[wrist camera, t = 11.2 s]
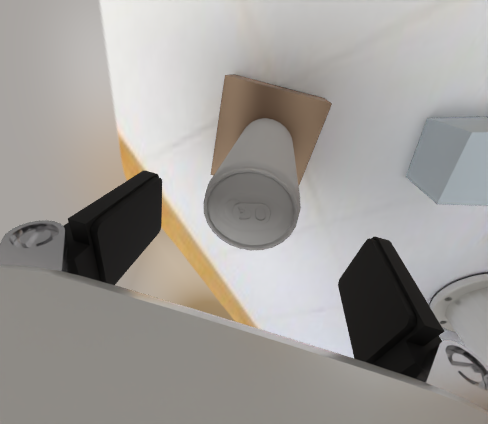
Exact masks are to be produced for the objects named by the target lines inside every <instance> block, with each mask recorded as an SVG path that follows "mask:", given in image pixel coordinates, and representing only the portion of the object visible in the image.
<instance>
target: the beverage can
mask: <svg viewBox="0 0 488 424" xmlns="http://www.w3.org/2000/svg"><path fill="white" fill-rule="evenodd" d="M299 212H300V194H299V186H298V179H297V171H296V164H295V156H294V148H293V141H292V137H291V135H290V133H289V131H288V130H287V129H286V127H285V126H283V125H282V124H281V123H279V122H277V121H275V120H273V119H268V118H262V119H257V120H255V121H253V122H251V123H250V124H249V125H248V126H247V127H246V128H245V129H244V131H243V132H242V134H241V135H240V137H239V138H238V140H237V141H236V143H235V144H234V146H233V147H232V149H231V150H230V152H229V153H228V155H227V156H226V158H225V159H224V161H223V162H222V164H221V165H220V167H219V168H218V170H217V171H216V173H215V175H214V176H213V178H212V179H211V181H210V182H209V184H208V187H207V191H206V194H205V199H204V214H205V217H206V221H207V223H208V225H209V226H210V228H211V229H212V231H213V232H214V233H215V234H216V235H217V236H218V237H219V238H220V239H222V240H223V241H225V242H226V243H228V244H230V245H232V246H235V247H237V248H240V249H246V250H264V249H268V248H272V247H274V246H276V245H278V244H280V243H282V242H283V241H284V240H285V239H287V238H288V237H289V236H290V235H291V233H292V232H293V230H294V228H295V227H296V224H297V220H298V216H299Z"/></svg>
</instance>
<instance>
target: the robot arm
mask: <svg viewBox="0 0 488 424" xmlns="http://www.w3.org/2000/svg"><path fill="white" fill-rule="evenodd" d="M161 214H162V179H161V178H159V176H158V174H155V173H152V172H148V171H142V172H140V173H139V174H137V175H136V176H134V177H133V178H131V179H129V180H128V181H126V182H125V183H123V184H122V185H120V186H118V187H117V188H115V189H114V190H112V191H111V192H109V193H107V194H106V195H104V196H103V197H101V198H100V199H98V200H96V201H95V202H93V203H92V204H90V205H89V206H87V207H86V208H84V209H82V210H81V211H79V212H78V213H76V214H74V215H73V216H71V217H70V218H68V221H69V223H67V224H66V225H64V226H63V225H61V224H60V223H57V222H55V221H35V222H29V223H26V224H23V225H20V226H18V227H15V228H13V229H12V230H10V231H9V232H8V233H6V234H5V236H4V237H3V239H2V241H1V243H0V424H488V274H481V275H476V276H471V277H468V278H465V279H461V280H459V281H457V282H454V283H452V284H450V285H449V286H447V287H445V288H444V289H442V290H441V291H440V292H439V293H437V295H436V296H435V297H434V298H433V300H432V302H431V304H430V307H429V305H428V303H427V302H426V300H425V298H424V297H423V295H422V293H421V292H420V290H419V288H418V287H417V285H416V283H415V282H414V280H413V278H412V277H411V275H410V273H409V272H408V270H407V268H406V267H405V265H404V263H403V262H402V260H401V258H400V257H399V255H398V253H397V252H396V250H395V248H394V247H393V245H392V243H391V242H390V241H389V240H385V239H382V238H378V237H373V238H371V239H367V240H366V242H365V243H364V244H363V246H362V247H361V249H360V250H359V252H358V253H357V255H356V256H355V257H354V259H353V260H352V262H351V263H350V265H349V266H348V268H347V269H346V270H345V272H344V273H343V275H342V276H341V278H340V279H339V283H338V287H339V291H340V296H341V300H342V305H343V309H344V314H345V318H346V323H347V327H348V332H349V336H350V340H351V345H352V349H353V354H354V358H355V359H354V358H350V357H347V356H344V355H341V354H338V353H334V352H331V351H328V350H325V349H322V348H319V347H315V346H312V345H309V344H306V343H303V342H299V341H296V340H293V339H290V338H287V337H283V336H280V335H277V334H274V333H270V332H267V331H264V330H261V329H257V328H254V327H251V326H248V325H244V324H241V323H238V322H235V321H231V320H228V319H225V318H221V317H218V316H215V315H212V314H208V313H205V312H202V311H199V310H195V309H192V308H189V307H185V306H182V305H179V304H176V303H172V302H169V301H166V300H162V299H159V298H155V297H152V296H149V295H146V294H142V293H139V292H136V291H132V290H129V289H126V288H122V287H118V286H115V284H116V283H117V282H118V280H119V279H120V278H121V277H122V276H123V275H124V273H125V272H126V271H127V270H128V269H129V267H130V266H131V265H132V264H133V263H134V262H135V260H136V259H137V258H138V257H139V256H140V255H141V253H142V252H143V251H144V250H145V249H146V247H147V246H148V245H149V244H150V242H152V240H153V239H154V238H155V237H156V236H157V234H158V233H159V231H160V229H161ZM442 327H443V328H445V329H447V330H449V331H453V332H456V333H457V335H458V336H459V338H460V339H461V341H462V342H463V344H464V345H465V346H463V345H461V344H459V343H457V342H455V341H451V340H444V341H441V339H440V337H439V335H440V334H441V333H443V332H444V330H443V328H442Z"/></svg>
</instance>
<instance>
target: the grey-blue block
mask: <svg viewBox="0 0 488 424" xmlns="http://www.w3.org/2000/svg"><path fill="white" fill-rule="evenodd" d="M406 177H407V178H408V179H409V180H410V181H411V182H412V183H413V184H415V185H416V186H417V187H418V188H419V189H420V190H421V191H423V192H424V193H425V194H426V195H427V196H428V197H429V198H431V199H432V200H433V201H434V202H435V203H436V204H448V205H478V206H488V117H443V118H427V121H426V124H425V126H424V129H423V132H422V134H421V137H420V140H419V142H418V145H417V148H416V151H415V153H414V156H413V159H412V161H411V164H410V167H409V169H408V172H407V175H406Z"/></svg>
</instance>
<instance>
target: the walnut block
mask: <svg viewBox="0 0 488 424" xmlns="http://www.w3.org/2000/svg"><path fill="white" fill-rule="evenodd" d="M331 105H332V103H330V102H329V101H327V100H326V99H325V98H321V97H317V96H314V95H310V94H306V93H302V92H298V91H295V90H291V89H287V88H283V87H280V86H276V85H272V84H268V83H264V82H261V81H257V80H253V79H249V78H246V77H242V76H238V75H225V79H224V86H223V93H222V100H221V107H220V114H219V121H218V128H217V135H216V141H215V148H214V155H213V162H212V169H211V175H215V173H216V171H217V170H218V168H219V167H220V165H221V164H222V162H223V161H224V159H225V158H226V156H227V155H228V153H229V152H230V150H231V149H232V147H233V146H234V144H235V143H236V141H237V140H238V138H239V137H240V135H241V134H242V132H243V131H244V129H245V128H246V127H247V126H248V125H249V124H250V123H251V122H253V121H255V120H257V119H262V118H268V119H273V120H275V121H277V122H279V123H281V124H282V125H283V126H285V127H286V129H287V130H288V131H289V133H290V135H291V137H292V141H293V148H294V156H295V164H296V171H297V179H298V186H299V184H300V182H301V179H302V177H303V174H304V172H305V169H306V167H307V164H308V162H309V159H310V157H311V154H312V152H313V149H314V147H315V144H316V142H317V139H318V137H319V134H320V132H321V130H322V127H323V125H324V122H325V120H326V117H327V115H328V112H329V110H330V107H331Z"/></svg>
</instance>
